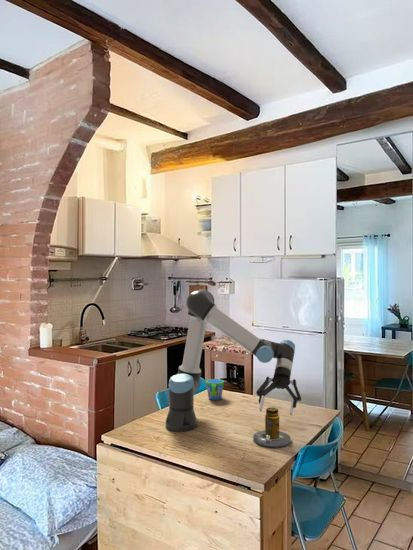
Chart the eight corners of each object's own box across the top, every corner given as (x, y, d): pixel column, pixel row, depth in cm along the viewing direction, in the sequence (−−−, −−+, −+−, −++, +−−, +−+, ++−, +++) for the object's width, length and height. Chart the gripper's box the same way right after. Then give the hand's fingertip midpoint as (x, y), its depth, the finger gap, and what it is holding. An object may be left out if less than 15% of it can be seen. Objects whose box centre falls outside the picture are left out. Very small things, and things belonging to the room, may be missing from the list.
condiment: (283, 437, 182) (283, 409, 182) (268, 441, 178) (268, 413, 178) (272, 432, 188) (272, 405, 188) (257, 436, 184) (257, 408, 184)
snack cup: (209, 394, 252) (208, 377, 252) (226, 395, 250) (226, 378, 250) (202, 402, 237) (202, 384, 237) (221, 403, 235) (221, 385, 235)
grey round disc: (248, 444, 179) (248, 434, 179) (258, 431, 193) (258, 421, 193) (286, 450, 172) (286, 439, 172) (293, 436, 187) (293, 426, 187)
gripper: (311, 377, 196) (305, 419, 183) (259, 372, 206) (250, 412, 193) (309, 368, 192) (303, 411, 178) (256, 363, 201) (246, 404, 188)
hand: (275, 412), depth 185 cm, fingers open, 13 cm apart
